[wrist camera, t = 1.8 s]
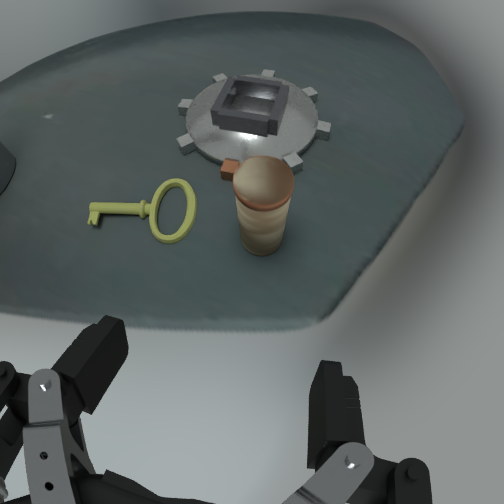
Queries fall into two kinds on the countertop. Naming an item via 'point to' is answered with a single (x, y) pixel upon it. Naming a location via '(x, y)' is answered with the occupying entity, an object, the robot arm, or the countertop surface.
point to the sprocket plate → (251, 121)
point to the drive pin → (262, 202)
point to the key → (151, 210)
